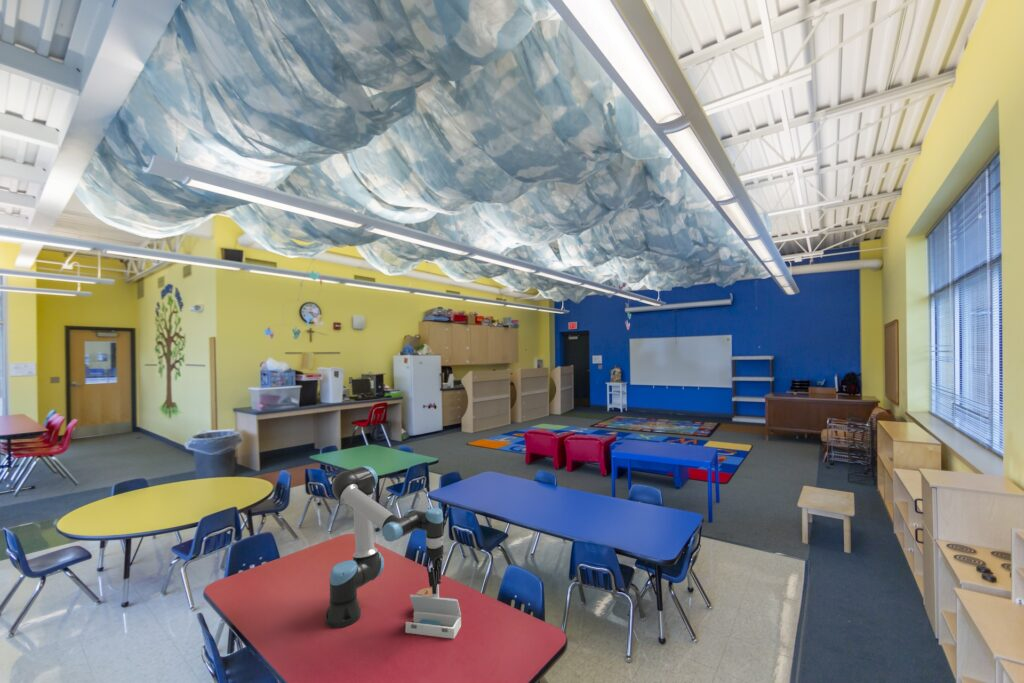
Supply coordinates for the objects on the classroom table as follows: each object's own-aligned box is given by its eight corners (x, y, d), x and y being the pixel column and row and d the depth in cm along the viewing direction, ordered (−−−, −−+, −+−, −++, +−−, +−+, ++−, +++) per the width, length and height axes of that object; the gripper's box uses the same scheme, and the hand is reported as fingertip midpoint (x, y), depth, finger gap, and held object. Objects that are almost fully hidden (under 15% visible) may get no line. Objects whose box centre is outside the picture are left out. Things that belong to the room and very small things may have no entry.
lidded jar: (433, 618, 197) (433, 596, 197) (411, 615, 199) (411, 594, 199) (442, 605, 207) (442, 585, 208) (421, 603, 209) (421, 583, 210)
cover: (409, 596, 191) (410, 593, 192) (414, 611, 195) (415, 608, 196) (456, 601, 186) (457, 598, 187) (460, 616, 190) (461, 613, 191)
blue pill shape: (416, 627, 189) (418, 619, 190) (419, 626, 191) (421, 618, 192) (437, 631, 186) (438, 622, 187) (440, 630, 189) (441, 621, 190)
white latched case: (404, 633, 185) (404, 623, 186) (414, 620, 195) (414, 611, 195) (453, 639, 181) (453, 629, 181) (461, 626, 190) (461, 616, 190)
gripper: (437, 552, 185) (438, 609, 184) (447, 539, 197) (448, 592, 196) (420, 551, 186) (421, 607, 185) (432, 538, 199) (433, 591, 198)
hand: (435, 599), depth 191 cm, fingers closed
